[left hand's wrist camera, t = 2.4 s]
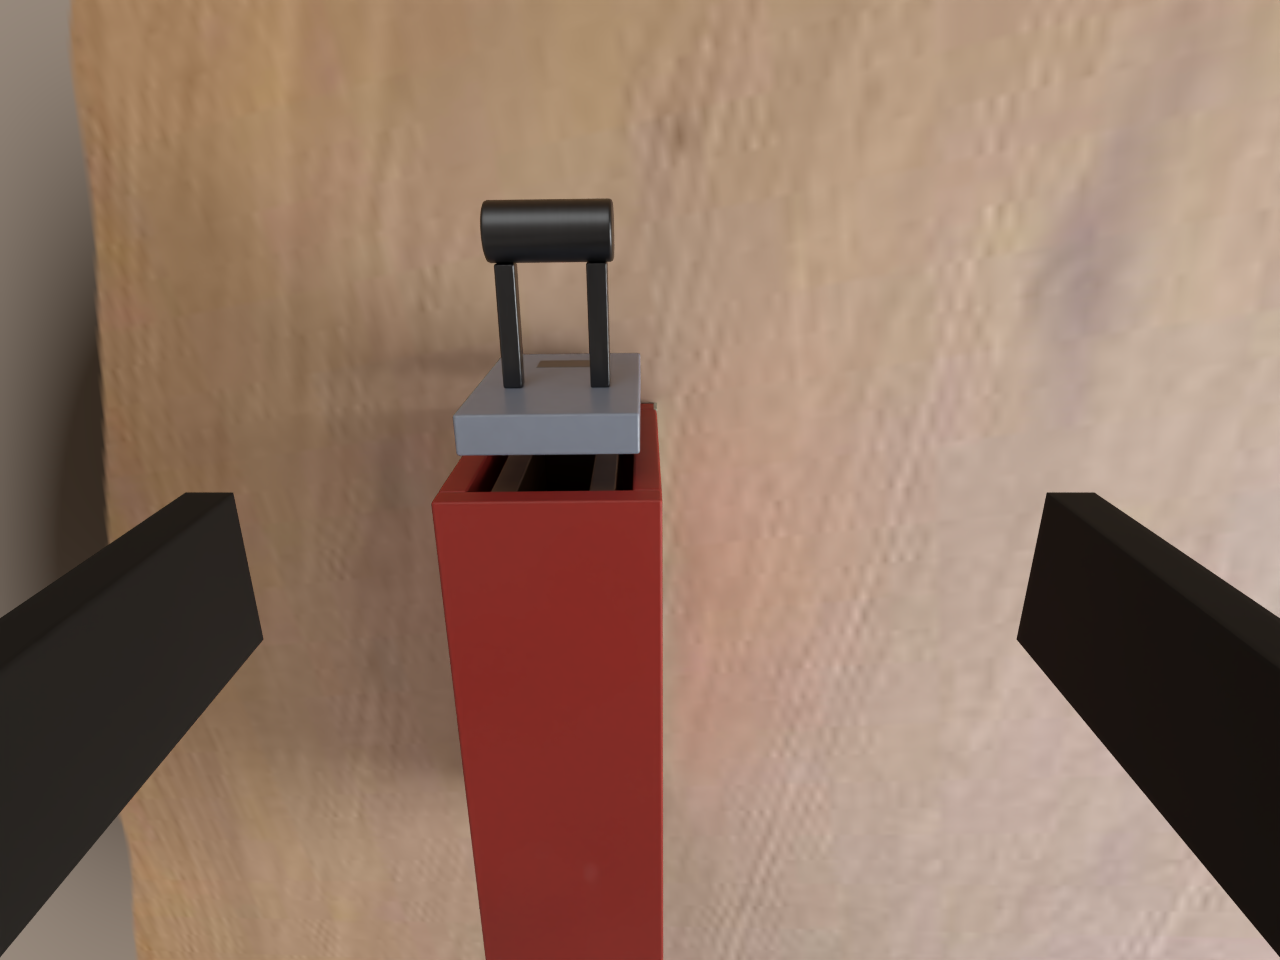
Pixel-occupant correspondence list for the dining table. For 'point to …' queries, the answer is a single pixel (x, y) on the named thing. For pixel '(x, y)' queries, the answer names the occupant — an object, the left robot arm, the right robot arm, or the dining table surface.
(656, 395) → the dining table surface
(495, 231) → the drawer
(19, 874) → the left robot arm
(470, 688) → the red box housing
